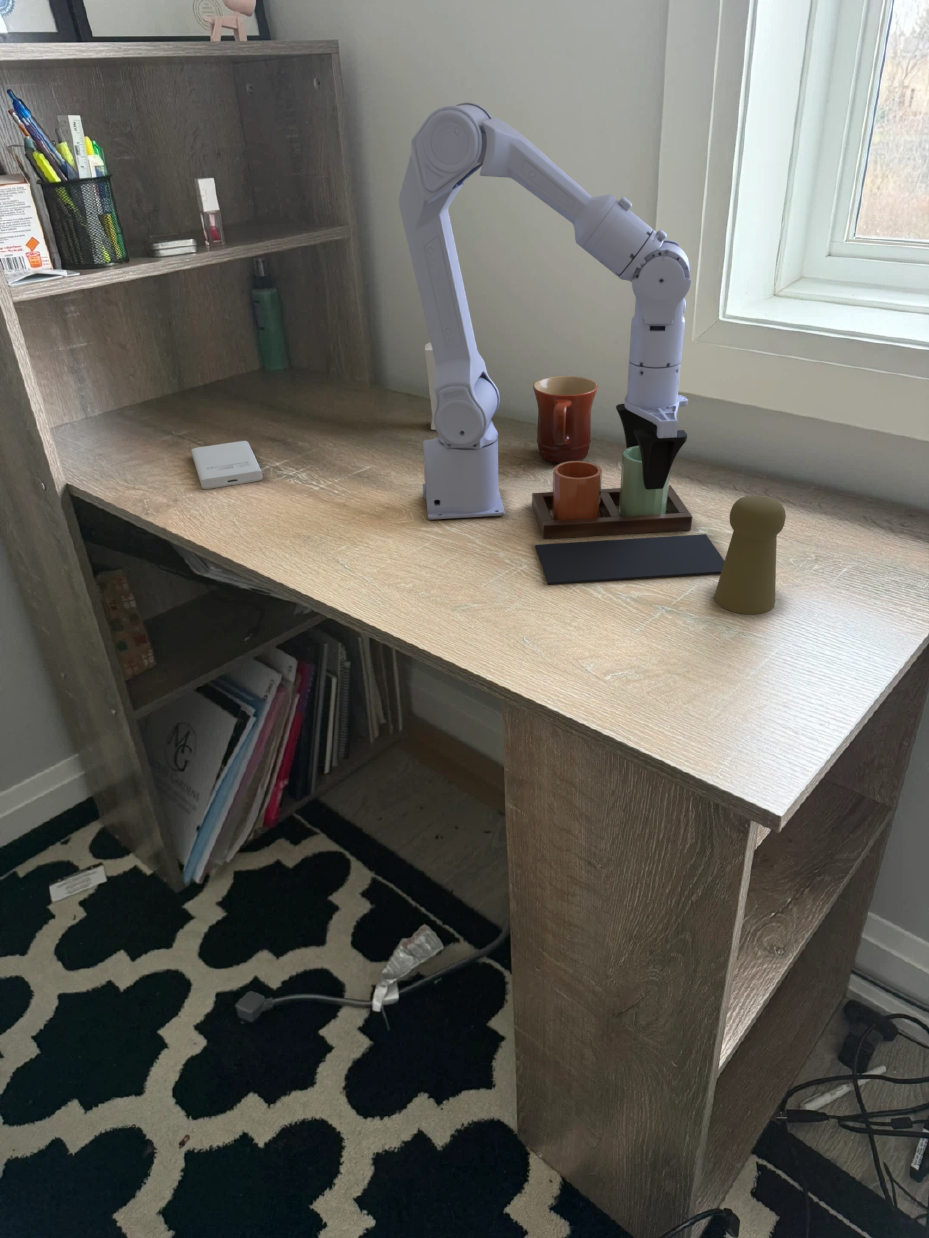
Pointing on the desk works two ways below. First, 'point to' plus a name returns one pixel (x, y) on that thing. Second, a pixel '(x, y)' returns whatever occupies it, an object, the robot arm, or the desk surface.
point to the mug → (564, 417)
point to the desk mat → (629, 559)
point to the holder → (610, 518)
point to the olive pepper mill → (751, 556)
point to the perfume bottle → (431, 378)
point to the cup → (639, 488)
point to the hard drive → (226, 464)
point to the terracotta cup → (576, 490)
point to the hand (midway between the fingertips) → (645, 475)
